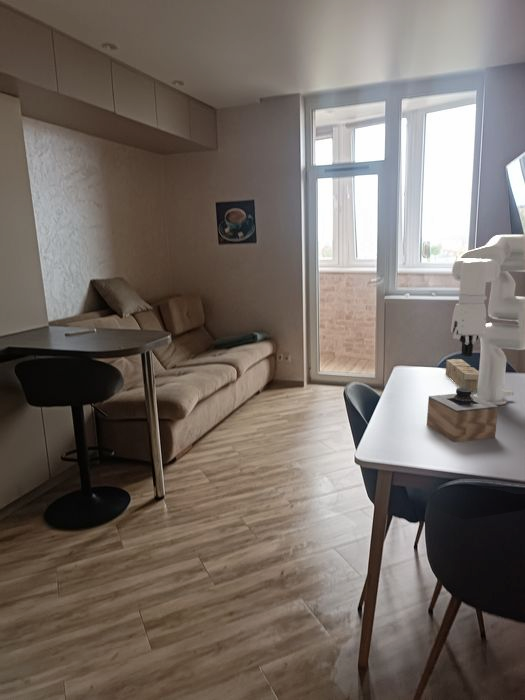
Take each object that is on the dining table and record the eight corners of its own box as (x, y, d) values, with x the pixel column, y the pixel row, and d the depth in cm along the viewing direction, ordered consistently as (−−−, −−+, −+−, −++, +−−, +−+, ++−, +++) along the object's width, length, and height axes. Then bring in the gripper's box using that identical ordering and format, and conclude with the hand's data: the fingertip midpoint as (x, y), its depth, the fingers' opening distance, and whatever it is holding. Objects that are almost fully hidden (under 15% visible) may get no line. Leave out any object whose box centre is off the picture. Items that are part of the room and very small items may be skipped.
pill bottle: (472, 424, 160) (475, 392, 158) (453, 423, 161) (455, 391, 159) (468, 418, 166) (471, 387, 164) (450, 417, 167) (452, 386, 165)
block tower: (444, 375, 237) (463, 391, 208) (445, 358, 235) (465, 372, 207) (460, 376, 236) (482, 392, 208) (462, 359, 235) (484, 372, 206)
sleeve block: (464, 420, 173) (467, 392, 171) (495, 437, 159) (498, 406, 157) (426, 425, 170) (428, 396, 167) (454, 442, 155) (456, 410, 153)
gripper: (483, 297, 160) (478, 351, 164) (443, 299, 157) (439, 354, 161) (499, 300, 153) (494, 356, 157) (458, 302, 149) (453, 359, 154)
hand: (466, 355), depth 159 cm, fingers closed
